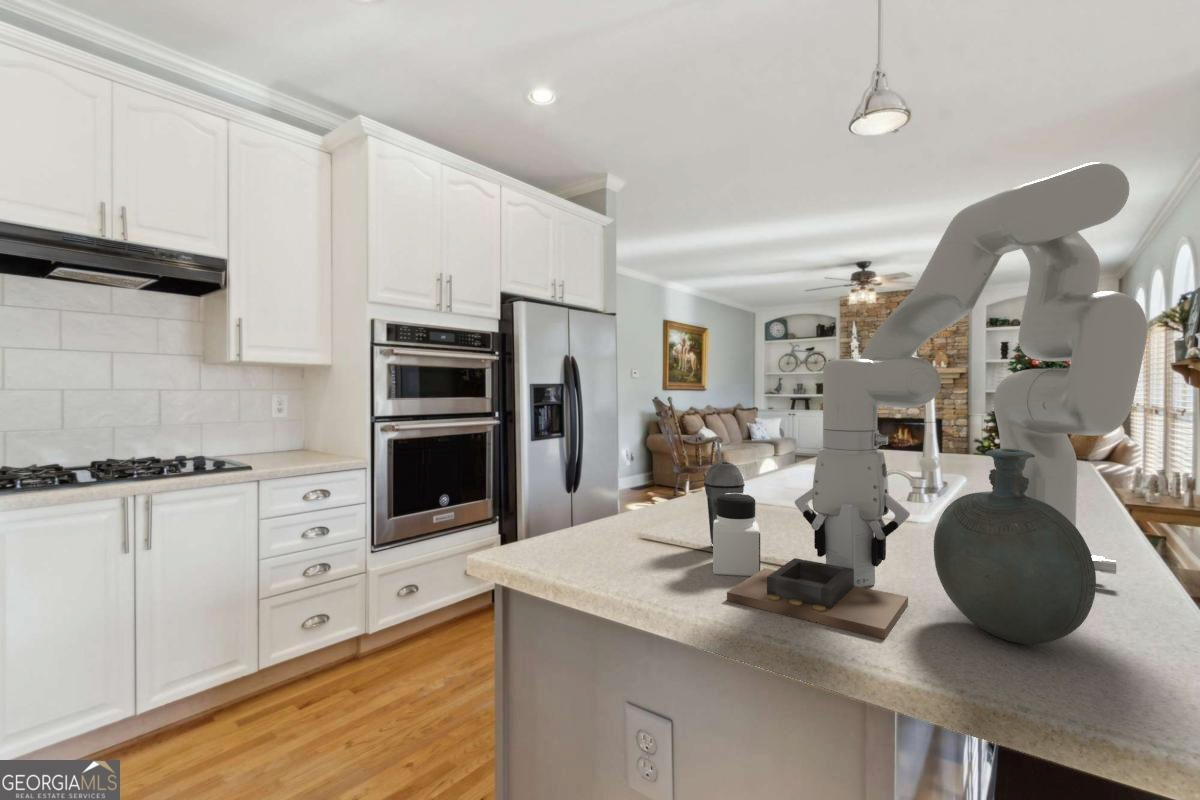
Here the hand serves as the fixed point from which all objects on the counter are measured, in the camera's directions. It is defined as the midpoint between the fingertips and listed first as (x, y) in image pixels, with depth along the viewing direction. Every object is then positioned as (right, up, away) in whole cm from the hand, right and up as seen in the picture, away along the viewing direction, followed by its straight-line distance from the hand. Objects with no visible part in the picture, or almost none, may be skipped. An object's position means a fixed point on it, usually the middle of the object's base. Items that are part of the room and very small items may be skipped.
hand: (849, 558), depth 88 cm
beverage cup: (-15, -3, +18) cm, 24 cm away
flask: (+10, -4, -19) cm, 22 cm away
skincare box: (0, -4, 0) cm, 4 cm away
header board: (-8, -4, -9) cm, 13 cm away
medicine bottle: (-16, -4, +6) cm, 17 cm away
